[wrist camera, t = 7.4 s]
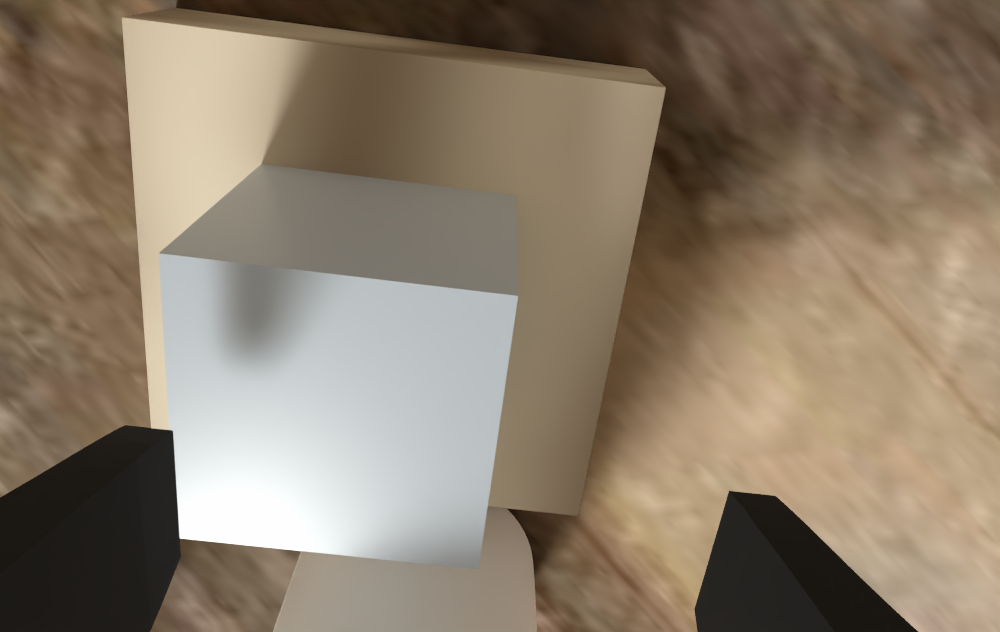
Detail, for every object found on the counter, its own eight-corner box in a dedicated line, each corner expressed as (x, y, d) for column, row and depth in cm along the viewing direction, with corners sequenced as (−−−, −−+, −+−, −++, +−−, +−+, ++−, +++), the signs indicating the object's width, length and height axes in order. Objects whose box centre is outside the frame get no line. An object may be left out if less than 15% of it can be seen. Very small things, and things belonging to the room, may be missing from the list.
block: (516, 195, 16) (517, 296, 11) (486, 410, 18) (478, 569, 13) (261, 163, 16) (158, 253, 11) (261, 385, 18) (175, 538, 13)
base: (645, 69, 17) (666, 87, 15) (571, 455, 21) (578, 515, 19) (174, 7, 17) (121, 17, 14) (193, 413, 21) (154, 470, 19)
